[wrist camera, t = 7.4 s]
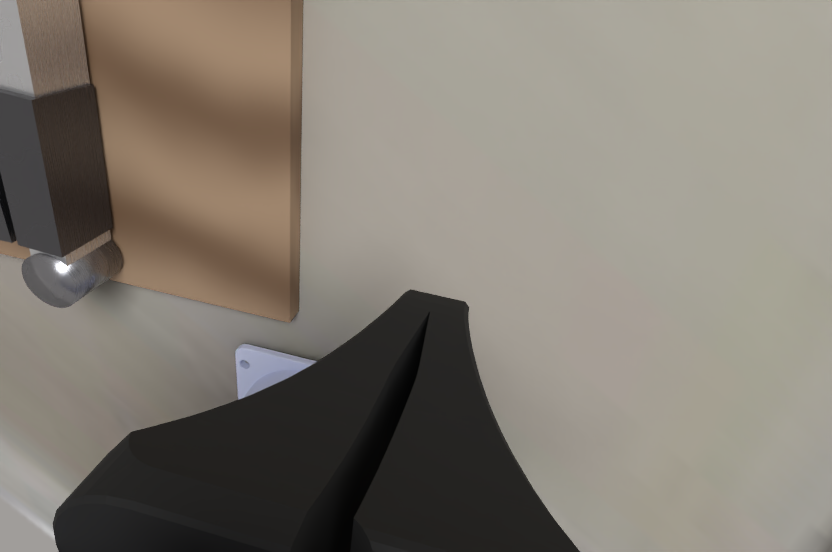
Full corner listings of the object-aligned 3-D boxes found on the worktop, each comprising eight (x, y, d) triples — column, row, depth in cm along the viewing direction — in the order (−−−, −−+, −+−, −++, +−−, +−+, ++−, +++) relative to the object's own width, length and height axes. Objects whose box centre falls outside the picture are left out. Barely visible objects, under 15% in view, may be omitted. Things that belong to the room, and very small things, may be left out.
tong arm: (124, 281, 24) (78, 315, 22) (76, 268, 25) (26, 299, 22) (58, -239, 15) (-34, -278, 13) (-18, -253, 15) (-121, -294, 13)
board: (298, 310, 25) (289, 322, 24) (-42, 229, 27) (-62, 238, 26) (306, -254, 15) (291, -267, 14) (-231, -307, 17) (-273, -322, 16)
